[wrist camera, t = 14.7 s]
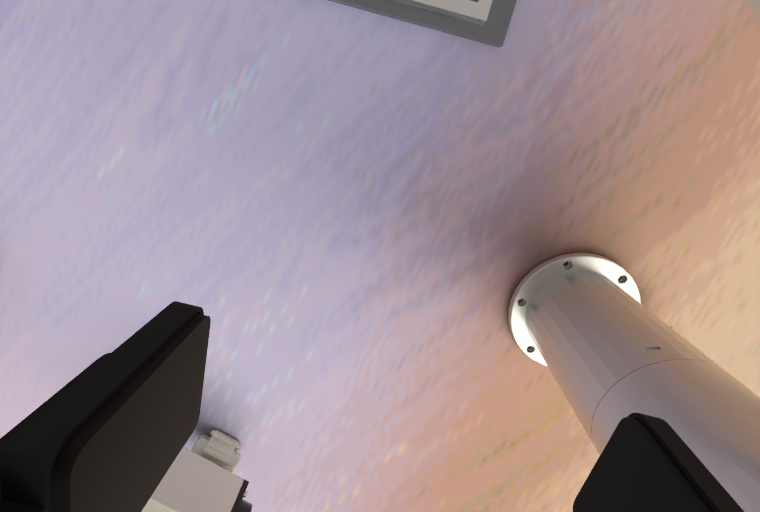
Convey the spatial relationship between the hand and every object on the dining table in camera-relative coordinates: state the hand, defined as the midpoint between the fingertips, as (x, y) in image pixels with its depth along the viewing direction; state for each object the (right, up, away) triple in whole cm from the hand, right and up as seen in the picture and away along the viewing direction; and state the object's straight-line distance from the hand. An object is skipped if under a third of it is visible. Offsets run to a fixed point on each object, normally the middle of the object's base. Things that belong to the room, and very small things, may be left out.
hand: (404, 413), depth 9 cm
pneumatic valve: (-20, -19, +40) cm, 49 cm away
